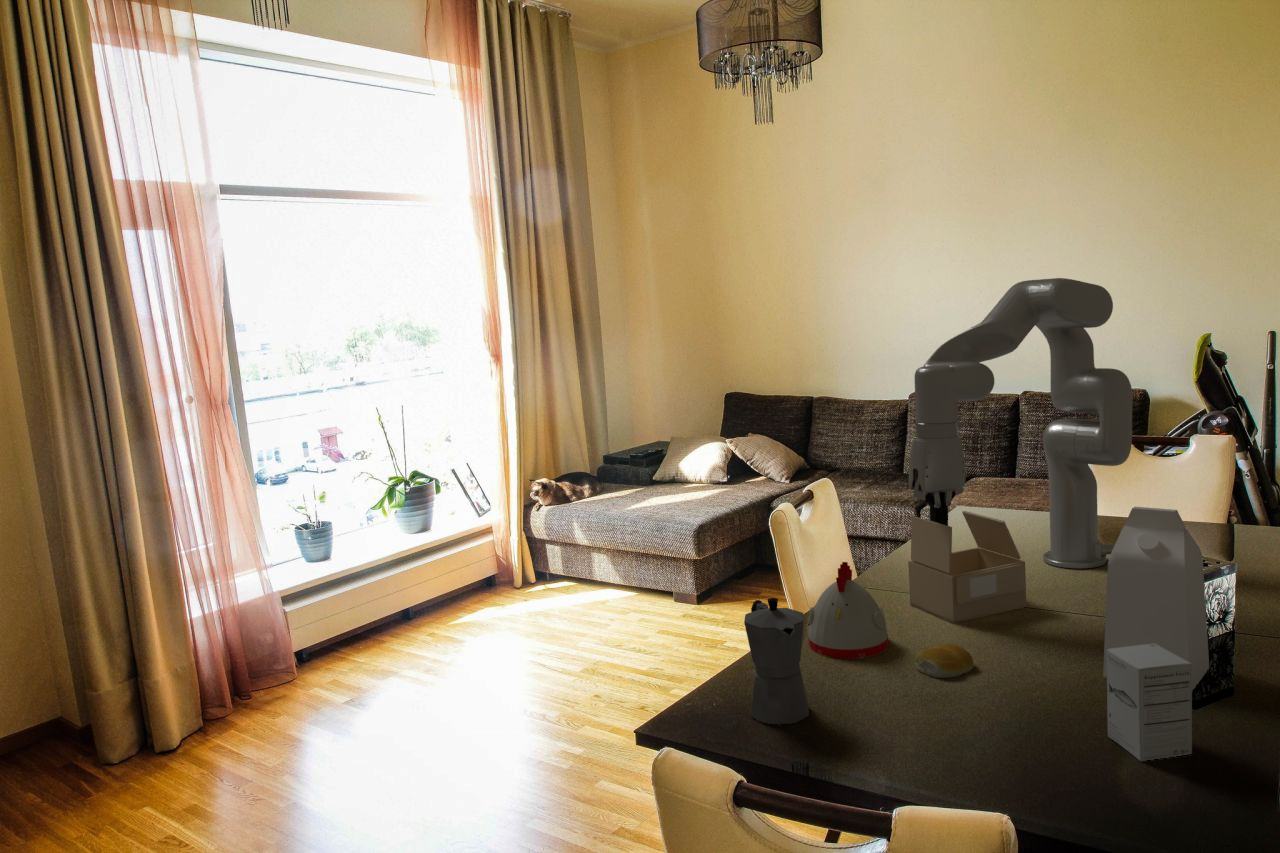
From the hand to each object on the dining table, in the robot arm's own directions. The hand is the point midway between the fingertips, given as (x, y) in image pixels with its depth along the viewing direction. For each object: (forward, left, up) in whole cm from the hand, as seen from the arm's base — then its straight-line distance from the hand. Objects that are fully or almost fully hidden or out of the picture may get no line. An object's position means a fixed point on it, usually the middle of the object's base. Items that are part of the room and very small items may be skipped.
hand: (939, 526), depth 178 cm
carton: (-4, -4, -17) cm, 18 cm away
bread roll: (-1, +28, -17) cm, 33 cm away
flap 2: (-11, -9, -8) cm, 16 cm away
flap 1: (+2, +2, -8) cm, 8 cm away
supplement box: (-27, +51, -17) cm, 61 cm away
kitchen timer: (+16, +19, -17) cm, 30 cm away
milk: (-32, +25, -17) cm, 45 cm away
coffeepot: (+23, +48, -17) cm, 56 cm away
